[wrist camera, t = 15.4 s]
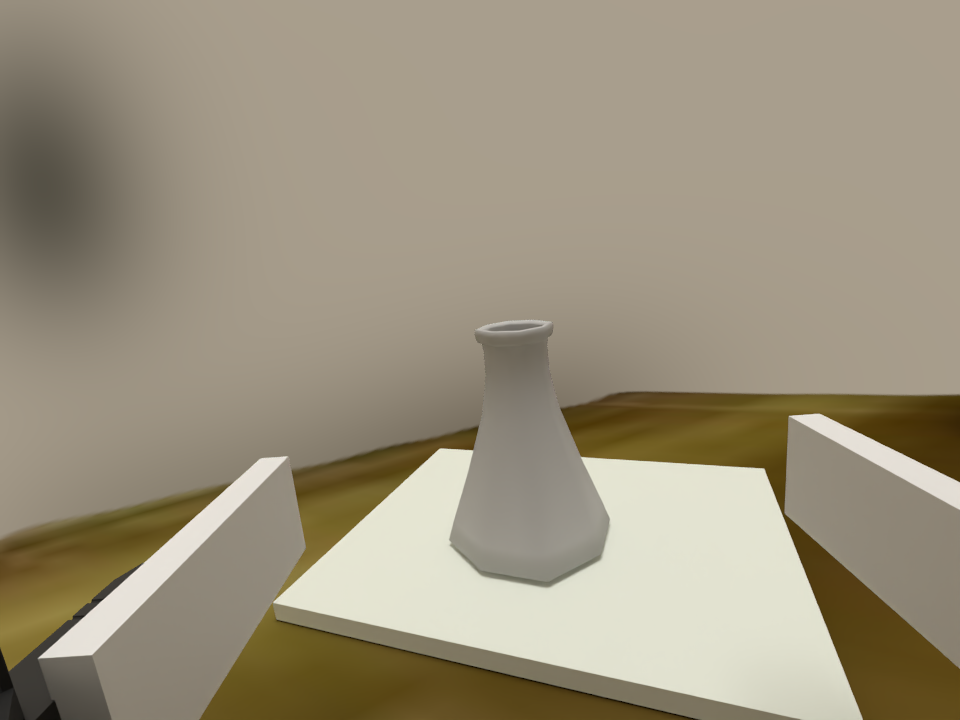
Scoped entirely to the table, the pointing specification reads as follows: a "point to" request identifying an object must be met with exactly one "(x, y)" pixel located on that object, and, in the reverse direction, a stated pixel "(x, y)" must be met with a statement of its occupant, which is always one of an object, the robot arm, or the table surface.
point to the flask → (525, 468)
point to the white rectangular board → (600, 595)
